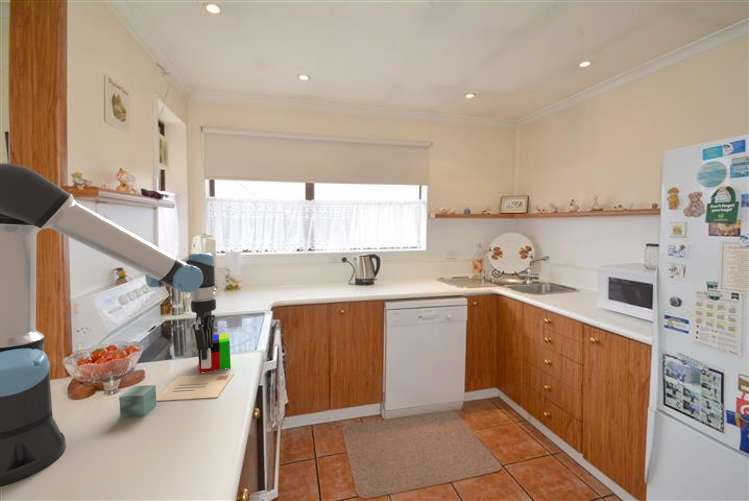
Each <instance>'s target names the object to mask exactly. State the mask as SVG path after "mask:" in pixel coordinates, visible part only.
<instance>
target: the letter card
mask: <svg viewBox="0 0 749 501" xmlns="http://www.w3.org/2000/svg"><path fill="white" fill-rule="evenodd" d="M232 376H235V374H234V373H221V374H204V375H203V374H202V375H184V376H177V377H176V378H175V379H174V380H173V381H172V382H171V383H170V384H169V385H167V387H166V388H165V389H164V390H162V391H161V392H160V394H158V395H156V402H168V401H169V402H172V401H173V402H174V401H186V400H204V399H206V400H208V399H218V398H219V396H220V395H221V393H222V392H223V391H224V389H225V388H226V386H227V385H228V384H229V382H230V381H231V380H232V378H233V377H232ZM229 380H230V381H229Z"/></svg>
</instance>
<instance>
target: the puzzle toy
mask: <svg viewBox="0 0 749 501" xmlns="http://www.w3.org/2000/svg"><path fill="white" fill-rule="evenodd" d="M211 345H214V346H213V347H210V348H211V367H210V368H205V369H201V350H197V351H198V353H197V354H198V355H197V356H198V371H199V373H200V374H203V373H202V372H206V373H210V372H209V371H212V372H215V371H214V370H217V371H221V370H220V369H223V370H226V369H225V368H229V369H231V366H232V365H231V344H230V334H229V333H227V332H226V333H219V334H213V344H211ZM199 373H198V374H199Z"/></svg>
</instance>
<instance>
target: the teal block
mask: <svg viewBox="0 0 749 501" xmlns="http://www.w3.org/2000/svg"><path fill="white" fill-rule="evenodd" d="M156 387H157V386H156V384H149V385H148V384H147V385H132V386H131V387H130V388H129V389H127V390H126V391H124V392H123V393H122V394H121V395H120V396H118V397H119V399H118V400H119V412H120V413H119V415H120V419H131V418H145V417H146V416H147V415H148V414H149V413H150V412H151V411H152V410H153V409H154V408H155V407H156V406H157V401H156V397H157V392H156V391H157V390H156Z"/></svg>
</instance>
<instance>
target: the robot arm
mask: <svg viewBox="0 0 749 501" xmlns="http://www.w3.org/2000/svg"><path fill="white" fill-rule="evenodd" d="M45 229H52V230H53V231H56V232H58V233H60V234H62V235H64V236H66V237H68V238H70V239H72V240H74V241H75V242H78V243H80V244H82V245H85V246H87V247H88V248H91V249H93V250H95V251H97V252H99V253H101V254H103V255H105V256H107V257H109V258H111V259H114V260H115V261H117V262H120V263H121V264H124V265H126V266H128V267H130V268H132V269H134V270H136V271H139V272H140V273H142V274H144V277H145V282H146V285H147V286H148V287H149V288H161V287H168V288H170V289H174V290H177V291H179V292H182V293H189V298H190V299H191V301H190V311H191V312H192V313H194V314H196V317H195V323H193V324H192V329H193V333H194V338H195V344H196V350H197V351H198V350H201V369H205V368H210V367H211V348H210V347H213V346H214V345H211V344H213V335H214V332H215V329H214V328H215V327H214V326H215V318H216V315H215V314H212V312H213V311H215V310H216V309H217V300H216V298H215V297H216V292H217V288H216V282H215V281H216V279H215V267H216V265H215V258H214V254H212V252H211V253H210V252H194V253H189V254H188V257H187V259H185V260H181V259H179V258H177V257H176V256H174V255H172V254H171V253H170V252H167V251H165V250H163V249H162V248H159V247H158V246H156V245H154V244H152V243H151V242H149V241H147V240H145V239H143V238H142V237H140V236H138V235H136V234H134V233H133V232H131V231H129V230H127V229H125V228H124V227H122V226H120V225H118V224H116V223H115V222H113V221H111V220H109V219H107V218H106V217H104V216H102V215H100V214H98V213H96V212H95V211H93V210H91V209H89V208H88V207H86V206H84V205H82V204H80V203H79V202H77V201H76V200H75V199H74V195H73V194H72V193H70V192H68V191H66V190H65V189H63V188H61V187H59V186H58V185H56V184H55V183H53V182H52V181H50V180H49V179H47V178H46V177H44V176H43V175H41V174H40V173H38V172H37V171H35V170H33V169H31V168H29V167H27V166H24V165H21V164H17V163H7V162H3V163H0V487H1V486H5V485H8V484H11V483H14V482H17V481H19V480H22V479H25V478H27V477H29V476H32V475H33V474H35V473H37V472H40V471H42V470H44V469H45V468H46V467H48V466H50V465H51V464H52V463H54V462H56V460H58V459H59V458H60V457H61V456H62V455H63V454H64V453H65V451H66V449H67V446H66V445H67V444H66V437H65V435H64V433H62V431H61V430H60V428H59V426H58V424H57V422H56V420H55V419H54V415H53V404H52V390H51V377H50V375H51V374H50V368H51V362H50V360H49V357H48V355H47V353H46V352H45V335H44V334H43V333H42V332H40V331H38V330H37V248H38V247H37V242H38V241H37V240H38V238H37V236H38V233H39V232H40V231H42V230H45Z"/></svg>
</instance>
